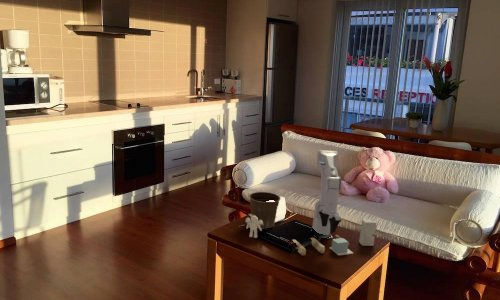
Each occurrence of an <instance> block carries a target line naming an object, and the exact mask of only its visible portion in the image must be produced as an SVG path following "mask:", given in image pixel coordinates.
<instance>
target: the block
mask: <svg viewBox="0 0 500 300" xmlns="http://www.w3.org/2000/svg"><path fill="white" fill-rule="evenodd" d="M331 239H332V240H331V249H332V250H333V251H332V252H334V253H335V252H336V253H342V252H347V251H348V249H349V246H348V243H349V241H348V240H346V239H345V238H343V237H341V238H339V239H337V238H331ZM331 249H330V250H331ZM336 253H335V254H336Z"/></svg>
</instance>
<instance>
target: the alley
mask: <svg viewBox="0 0 500 300" xmlns="http://www.w3.org/2000/svg"><path fill="white" fill-rule="evenodd" d="M310 239H311V240H312V245H311V246H312V247H314V249H316V250H317V251H318V252H319V253H320V254H325V251H326V246H325V245H323V244H322V243H321V242H320V241H318V239H316V238H315V236H314V237H310ZM292 241H293V242H294V243H296V245H297V246H298V251H297V252H298V253H299V254H300V255H301V256H306V253H307V249H306V248H305V247H304V246H303V245H302V244H301V243H300V242H299V241H297V240H296V239H291V242H292Z"/></svg>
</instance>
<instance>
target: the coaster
mask: <svg viewBox="0 0 500 300" xmlns="http://www.w3.org/2000/svg"><path fill="white" fill-rule="evenodd" d="M331 247H332V246H331ZM331 247H329V249H330V250H332V249H331ZM332 252H334V251H333V250H332ZM334 253H335V254H336V255H337V256H345V255H347V256H348V255H353V254H354V252H353V251H351V250H350V249H349V248H348V251H347V252H342V253H336V252H334Z"/></svg>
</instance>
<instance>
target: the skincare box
mask: <svg viewBox="0 0 500 300" xmlns="http://www.w3.org/2000/svg"><path fill="white" fill-rule="evenodd" d="M376 227H377V222H376V221H375V220H374V219H361V226H360V231H359V232H360V234H359V241H358V242H359V244H360V245H361V246H365V247H366V246H369V247H371V246H374V244H375V237H376V230H377V228H376Z"/></svg>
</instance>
